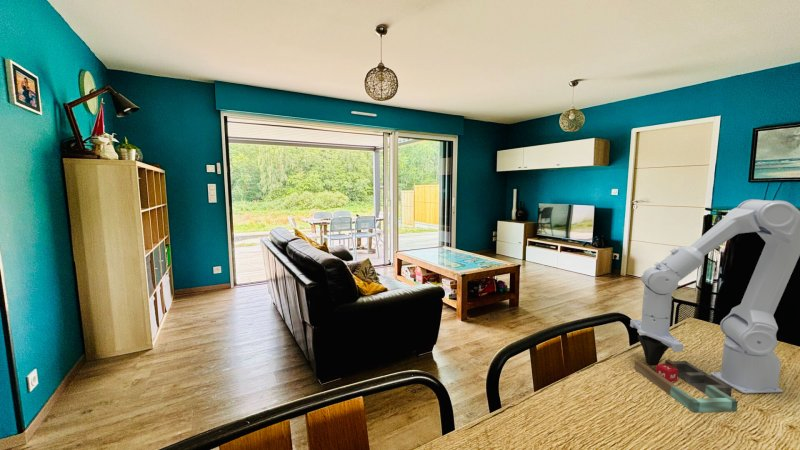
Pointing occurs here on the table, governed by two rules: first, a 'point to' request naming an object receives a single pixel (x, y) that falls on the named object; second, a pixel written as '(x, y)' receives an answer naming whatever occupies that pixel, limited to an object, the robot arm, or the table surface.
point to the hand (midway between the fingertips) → (652, 364)
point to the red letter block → (667, 372)
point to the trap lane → (699, 380)
